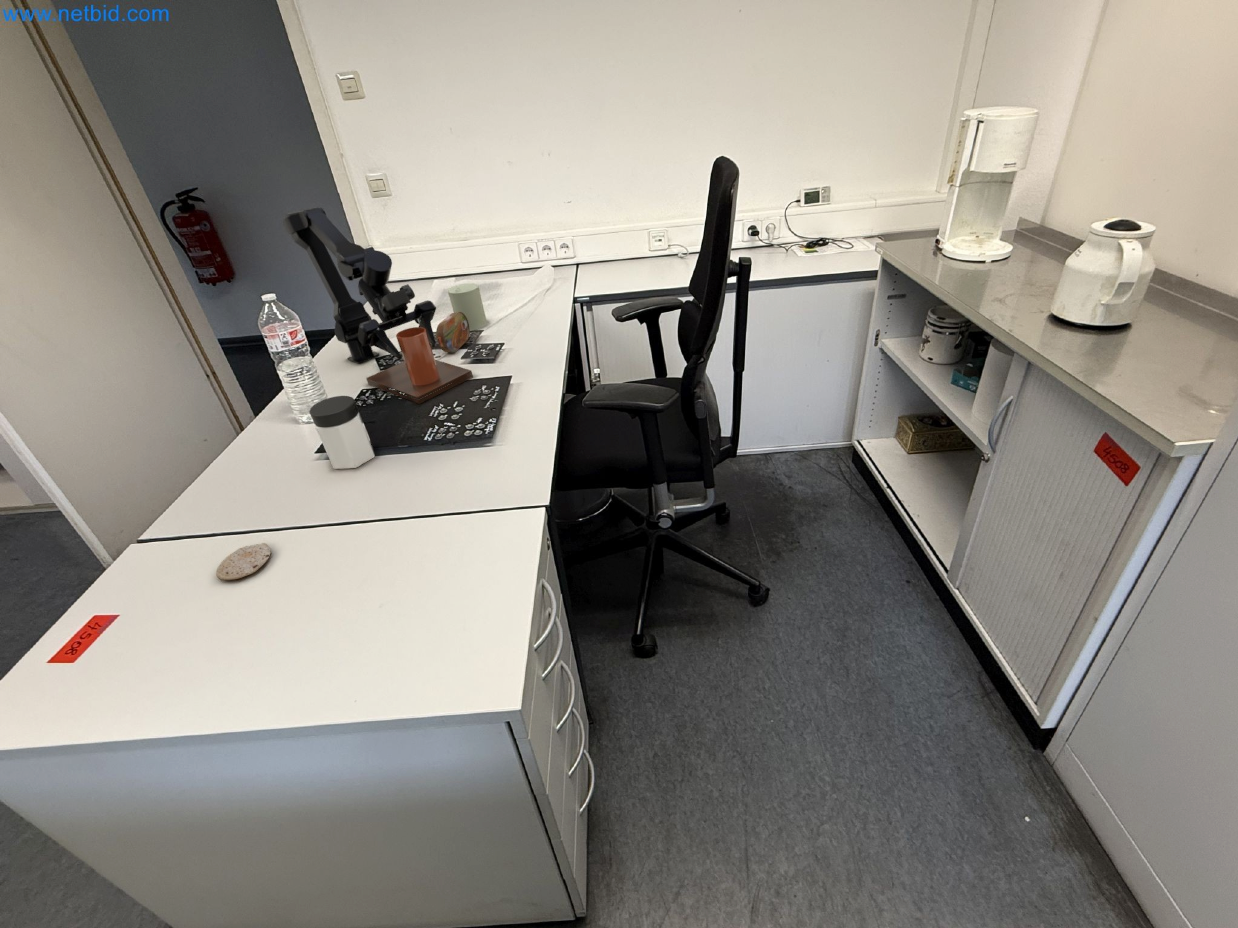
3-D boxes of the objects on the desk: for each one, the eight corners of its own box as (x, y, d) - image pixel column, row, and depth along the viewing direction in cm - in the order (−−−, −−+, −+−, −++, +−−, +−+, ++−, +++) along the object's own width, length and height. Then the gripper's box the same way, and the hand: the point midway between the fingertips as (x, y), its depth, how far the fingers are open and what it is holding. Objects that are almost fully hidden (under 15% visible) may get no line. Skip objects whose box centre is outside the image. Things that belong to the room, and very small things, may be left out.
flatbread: (248, 583, 88) (245, 578, 87) (206, 580, 89) (203, 575, 89) (283, 547, 94) (280, 542, 94) (243, 545, 96) (240, 540, 95)
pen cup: (406, 385, 139) (390, 338, 133) (419, 373, 145) (405, 327, 138) (431, 385, 138) (417, 337, 131) (444, 373, 143) (430, 326, 137)
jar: (377, 461, 114) (356, 408, 108) (334, 475, 112) (309, 421, 105) (372, 442, 121) (352, 390, 115) (331, 454, 119) (308, 402, 112)
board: (368, 384, 147) (366, 378, 146) (420, 361, 157) (419, 354, 156) (419, 404, 134) (417, 397, 133) (473, 377, 144) (471, 370, 143)
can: (451, 330, 174) (440, 291, 168) (468, 319, 181) (458, 281, 175) (476, 332, 171) (466, 291, 164) (493, 321, 178) (484, 281, 171)
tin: (450, 357, 157) (442, 327, 152) (440, 357, 157) (431, 327, 153) (473, 335, 169) (465, 307, 164) (463, 336, 169) (455, 307, 165)
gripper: (345, 288, 125) (386, 347, 125) (420, 265, 136) (459, 319, 136) (342, 318, 134) (380, 372, 134) (413, 294, 145) (448, 344, 145)
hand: (418, 351), depth 137 cm, fingers open, 9 cm apart
